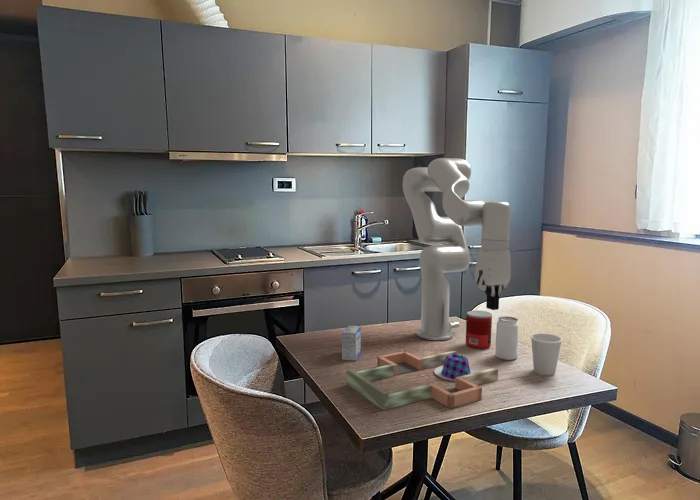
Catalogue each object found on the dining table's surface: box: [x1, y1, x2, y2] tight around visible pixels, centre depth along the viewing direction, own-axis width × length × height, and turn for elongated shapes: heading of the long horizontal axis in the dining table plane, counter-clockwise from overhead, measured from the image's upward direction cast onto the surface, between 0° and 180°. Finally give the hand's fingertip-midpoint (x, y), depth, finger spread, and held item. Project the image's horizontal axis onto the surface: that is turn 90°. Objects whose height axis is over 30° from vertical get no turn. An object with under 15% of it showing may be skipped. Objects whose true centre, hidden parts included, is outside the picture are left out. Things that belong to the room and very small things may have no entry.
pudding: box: [434, 353, 477, 382], centre depth 139 cm, size 12×12×5 cm
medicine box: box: [341, 325, 362, 362], centre depth 153 cm, size 8×4×9 cm, turn 168°
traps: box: [376, 350, 483, 409], centre depth 134 cm, size 10×31×3 cm, turn 30°
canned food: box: [465, 310, 493, 351], centre depth 163 cm, size 8×8×11 cm
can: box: [495, 316, 520, 361], centre depth 153 cm, size 6×6×12 cm
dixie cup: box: [530, 332, 563, 376], centre depth 141 cm, size 8×8×10 cm
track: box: [346, 350, 499, 411], centre depth 134 cm, size 37×17×4 cm, turn 120°
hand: (492, 308), depth 144 cm, fingers closed
